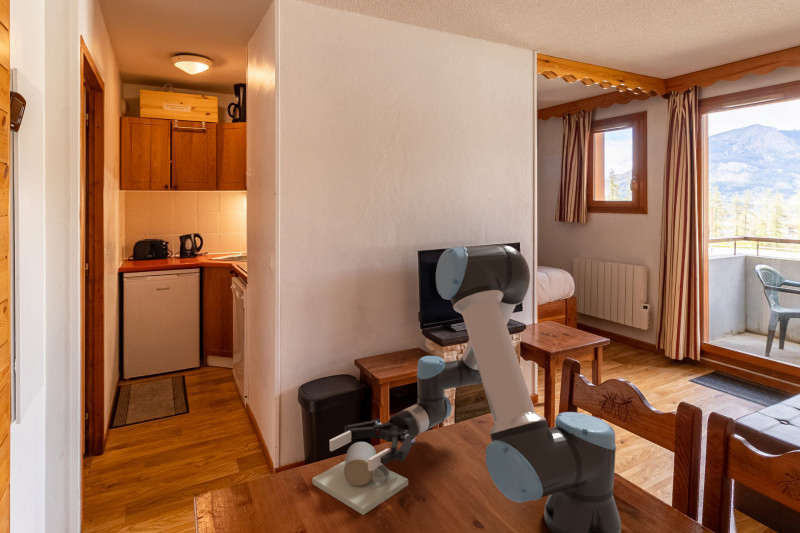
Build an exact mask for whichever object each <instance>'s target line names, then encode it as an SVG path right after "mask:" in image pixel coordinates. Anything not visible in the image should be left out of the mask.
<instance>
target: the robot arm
mask: <svg viewBox="0 0 800 533" xmlns="http://www.w3.org/2000/svg"><path fill="white" fill-rule="evenodd" d="M530 281H531V272H530V267H529V265H528V261H527V260H526V258H525V257H524V255H523V254H522V253H521V252H520V251H518V250H517V248H514V247H513V246H509V245H507V244H493V245H492V244H490V245H489V244H488V245H475V246H474V245H472V246H464V245H461V246H457V247H449V248H446V249H445V250H444V251H443V252H442V253H441V254H440V257H439V259H438V261H437V264H436V270H435V284H436V290H437V292H438V295H439V296H441V298H442V299H443V300H446V301H447V300H449V301H451V304H452V308H453V310H454V311H455V312H456V313H459V314H460V315H462V317H463V321H464V326H465V329H466V331H467V335H468V341H467V343H466V346H465V349H464V350H463V354H462V355H461V357H460V359H455V360H449V361H445V360H444V358H442V357H441V356H438V355H424V356H422V357H420V358H419V360H418V361H417V370H416V379H417V382H416V383H417V402H416V403H414V404H412V406H409V407H406V408H405V409H403V410H400V411H399V412H397V413H395V414H392V415H391V416H390V419H389V420H388V421H387V422H383V423H382V422H381V419H380V418H376V419H372V420H369V421H363V422H359V423H358V422H357V423H352V424H348V425H345V426H344V432H342V433H341V434H338V435H337V436H335V437H333V438H331V439H329V451H330V452H333V451H335V450H338V449H339V448H341V447H344V446H346V445H348V444H349V443H351V442H352V440H359V439H360V440H361V439H375V440H384V441H385V442H387V443H391V446H390V448H385V449H383V450H382V451H379V452H378V453H377V454H376V455H374V456H372V457H371V458H369V459H368V470H369V471H372V470H374V469H375V468H377V467H379V466H380V465H382V464H383V465H386V464H387V463H389V462H391V461H396V460H398V462H399V463H403V462H404V461H405V460H406V457H407V456H408V453H409V451H410V450H411V447H413V446H414V445H415V444H416V437H417V436H419V435H421V434H422V433H424V432H426V431H429V429H431V428H434V427H435V426H437V425H439V424H441V423H443V422H444V421H446V420H447V419H448V418H450V416H451V414H452V404H451V403H450V402H451V400H450V399H449V398H448V397H447V395H445V390H449V389H454V388H455V389H456V388H460V387H466V386H471V385H472V386H473V385H479V384H482V385H483V389H484V393H485V395H486V399H487V402H488V405H489V409H490V412H491V416H492V419H493V426H492V428H491V430H490V432H489V434H490V435H489V436H490V438H491V441H490V443H488V444H487V446H486V448H485V463H486V468H487V471H488V472H489V475H490V477H491V481H492V482H493V483H494V485H495V486H496V488H497V489H498V490H499V492H501V493H502V495H503V496H504V497H505V498H507V499H508V500H510V501H512V502H514V503H515V502H516V503H526V502H530V501H538V500H541V498H544V497H546V496H547V499H546V501H545V503H544V504H545V505H544V514H543V516H544V523H545V524H546V526H547V527H548V529H549V531H551V532H552V533H621V532H622V522H621V517H620V513H619V511H618V506H617V503H616V501H615V500H616V499H615V497H614V486H615V485H614V484H615V469H616V468H615V467H616V466H615V464H616V450H617V445H616V432H615V430H614V428H613V427H612V426H611V425H610V424H609V423H608V422H607V421H605V420H603V419H601V418H598V417H596V416H593V415H590V414H586V413H581V412H576V411H566V412H565V411H563V412H560V413H558V414H556V416H555V420H554V424H555V426H552V427H549V425H548V424H549V423H548V421H547V419H546V417H544V416H543V415H540V414H539V413H538V412H536V409H535V406H534V404H533V401H532V397H531V395H530V391H529V389H528V386H527V385H528V384H527V383H526V380H525V376H524V374H523V370H522V367H521V364H520V361H519V358H518V355H517V353H516V350H515V346H514V344H513V341H512V338H511V334H510V332H509V329H508V326H507V325H508V323H509V322H510V321H509V320H510V319H511V316H512V315H513V312H514V310H515V308H516V306H517V305H520V304H522V302H523V301H524V299H525V297H526V295H527V293H528V290H529V287H530V283H531V282H530ZM398 443H402V444H401V445H400V447H399V449H398V446H399V444H398Z"/></svg>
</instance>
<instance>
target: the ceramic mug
mask: <svg viewBox="0 0 800 533" xmlns="http://www.w3.org/2000/svg"><path fill="white" fill-rule="evenodd" d="M376 454H378V453H377V451H376V448H375V447H374V446H373V445H372V444H370V443H368V442H366V441H357V442H355V443H353V444H351V445H350V446H349V448H347V451H346V456H345V460H344V461H345V466H344V475H345V478H346V480H347V481H348V482H349V483H350V484H352V485H355V486H364V485H366V484H368V483H369V482H370V481H371V480H373V481H375V482H379V483H383V482H385V481H386V480H387V478H388V476H389V471H388V470H389V469H388V467H387V466H386V465H385V464H382V465H380V466H379V467H377V468H378V469H380V470H381V471H382V472H383V473H384V474H385V477H379V476H377V475H374V472H375V469H374V470H372V471H369V470H368V459H369V458H371V457H372V456H374V455H376Z"/></svg>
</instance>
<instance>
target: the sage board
mask: <svg viewBox="0 0 800 533" xmlns="http://www.w3.org/2000/svg"><path fill="white" fill-rule="evenodd" d="M344 466H345V460H344V461H342V462H340V463H338V464H336V465H334V466H332V467H331V468H329V469H327V470H325V471H324V472H321V473H319V474H317V475H316V476H314V477H312V480H311V481H312V482H311V484H312V485H314V487H317V488H318V489H320V490H321V491H323V492H325V493H326V494H328V495H330V496H331V497H333V498H335V499H336V500H338V501H340V502H341V503H343V504H344V505H346V506H348V507H349V508H351V509H353V510H354V511H356V512H357V513H359V514H361V515H363V516H364V515H365V514H367V513H368V512H370V511H371V510H373V509H375V508H376V507H378V506H379V505H380V504H382V503H384V502H386V501H387V500H388V499H390V498H391V497H392V496H394V495H395V494H398V493H399V492H400V491H402V490H403V489H404V488H406V487H407V486H409V479H408V478H406V477H405V476H403V475H401V474H399V473H396V472H394V471H392V470H391V469H388V471H389V476H388V478H387V480H386V481H385V482H383V483H379V482H375V481H373V480H371V481H370V482H369V483H368V484H366V485H364V486H355V485H352V484H350V483H349V482H348V481H347V480H346V478H345V475H344ZM374 475H377V476H379V477H385V474H384V473H383V472H382V471H381V470H380V469H378V468H375V472H374Z"/></svg>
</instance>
